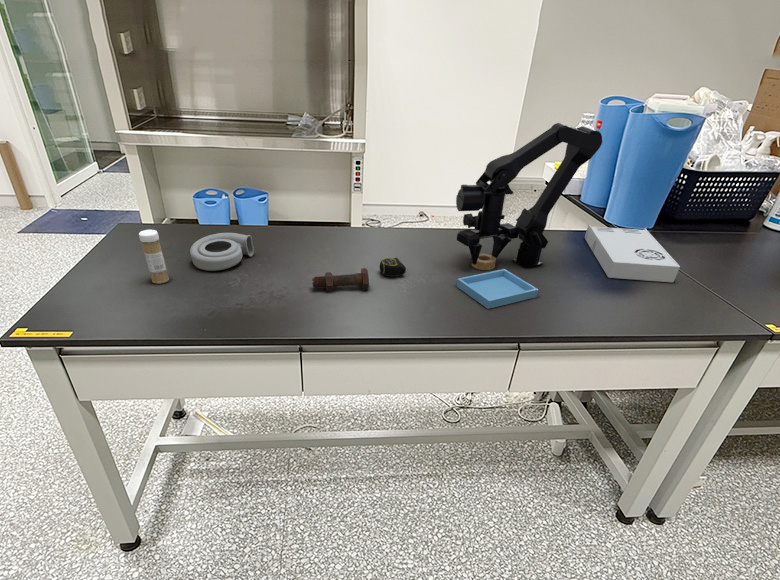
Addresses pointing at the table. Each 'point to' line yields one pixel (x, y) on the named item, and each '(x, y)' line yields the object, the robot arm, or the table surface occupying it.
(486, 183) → the robot arm
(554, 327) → the table surface
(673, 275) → the power supply unit
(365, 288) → the bolt
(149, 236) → the sprinkles bottle
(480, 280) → the tray
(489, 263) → the wooden ring
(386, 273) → the tape measure
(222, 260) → the turbocharger housing
